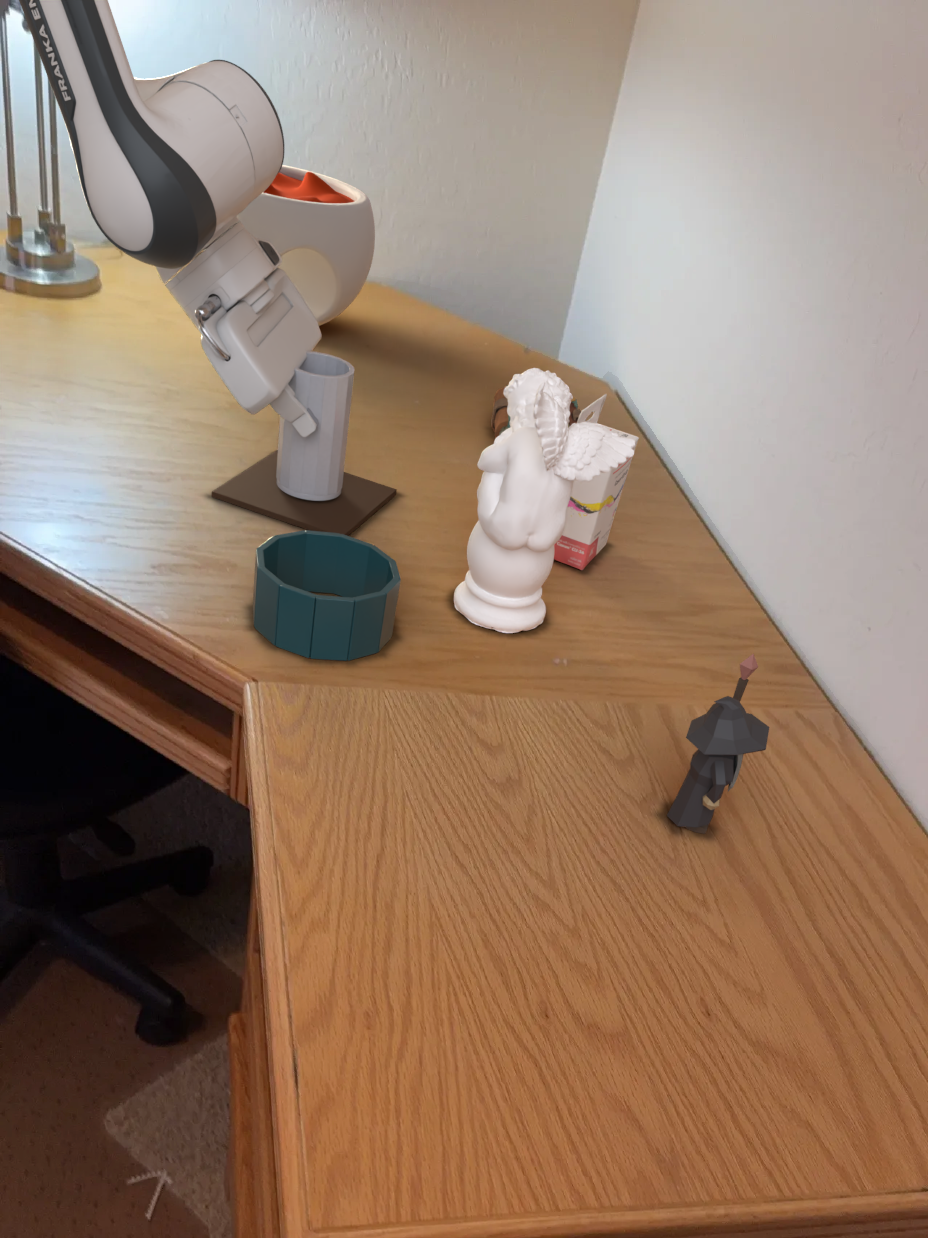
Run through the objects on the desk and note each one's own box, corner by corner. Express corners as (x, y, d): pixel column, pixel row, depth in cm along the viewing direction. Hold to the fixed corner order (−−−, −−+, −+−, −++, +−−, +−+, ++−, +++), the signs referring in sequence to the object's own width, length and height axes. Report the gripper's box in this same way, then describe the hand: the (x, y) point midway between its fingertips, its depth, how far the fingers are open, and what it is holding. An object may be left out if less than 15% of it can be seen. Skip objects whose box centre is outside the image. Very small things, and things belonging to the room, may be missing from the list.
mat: (211, 497, 104) (211, 491, 103) (276, 454, 114) (277, 449, 114) (341, 541, 102) (342, 535, 102) (396, 494, 112) (397, 489, 112)
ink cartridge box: (584, 572, 107) (625, 427, 98) (539, 556, 108) (575, 410, 98) (609, 544, 114) (649, 405, 104) (566, 528, 114) (602, 389, 105)
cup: (264, 486, 105) (271, 361, 97) (294, 466, 110) (303, 345, 102) (324, 507, 105) (336, 383, 97) (352, 485, 110) (365, 365, 102)
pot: (394, 331, 154) (412, 191, 143) (306, 364, 137) (318, 207, 125) (255, 282, 159) (261, 143, 147) (152, 307, 142) (151, 151, 130)
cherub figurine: (467, 572, 102) (516, 331, 88) (590, 608, 102) (659, 371, 87) (435, 628, 93) (483, 370, 79) (570, 668, 93) (643, 415, 78)
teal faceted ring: (227, 629, 86) (230, 568, 83) (291, 575, 95) (296, 517, 92) (357, 676, 85) (365, 615, 82) (410, 616, 94) (419, 560, 90)
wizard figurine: (733, 851, 78) (796, 716, 70) (661, 842, 77) (716, 705, 69) (709, 781, 84) (764, 651, 76) (642, 773, 83) (691, 640, 75)
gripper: (217, 291, 87) (324, 436, 94) (276, 239, 102) (364, 367, 109) (163, 336, 89) (271, 474, 96) (229, 278, 105) (317, 401, 112)
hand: (321, 417), depth 103 cm, fingers closed on cup, 7 cm apart
